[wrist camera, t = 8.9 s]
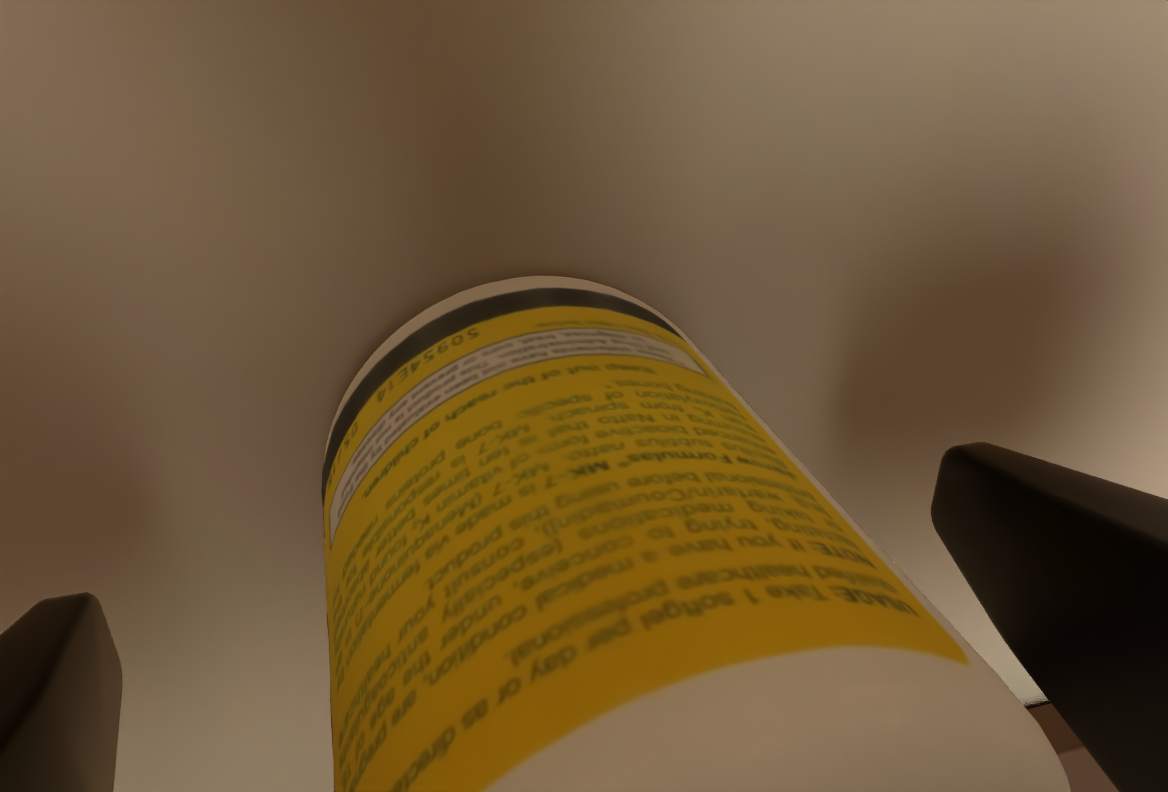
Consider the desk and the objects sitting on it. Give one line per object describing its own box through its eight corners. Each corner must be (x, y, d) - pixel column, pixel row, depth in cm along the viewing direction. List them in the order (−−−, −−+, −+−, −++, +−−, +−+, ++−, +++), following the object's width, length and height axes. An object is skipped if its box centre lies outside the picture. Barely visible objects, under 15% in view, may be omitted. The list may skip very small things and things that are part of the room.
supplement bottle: (227, 477, 10) (17, 2025, 3) (537, 174, 9) (1396, 1094, 2) (520, 664, 12) (828, 1717, 5) (778, 434, 12) (1550, 1264, 4)
